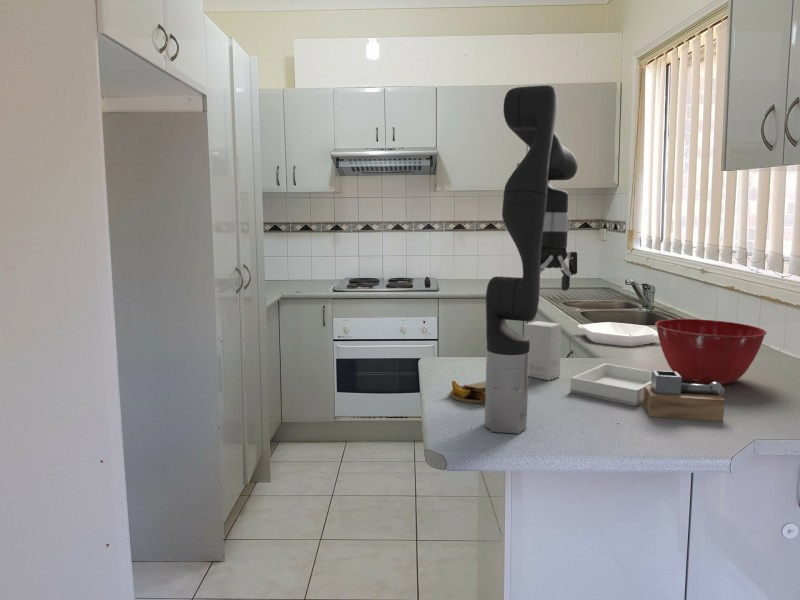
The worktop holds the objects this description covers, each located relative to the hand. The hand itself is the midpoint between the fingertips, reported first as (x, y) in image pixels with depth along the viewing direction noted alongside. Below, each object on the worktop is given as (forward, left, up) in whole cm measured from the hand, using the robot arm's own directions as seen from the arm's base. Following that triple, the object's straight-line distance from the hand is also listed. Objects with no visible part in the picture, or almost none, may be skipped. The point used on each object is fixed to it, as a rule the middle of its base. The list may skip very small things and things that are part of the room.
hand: (550, 290), depth 177 cm
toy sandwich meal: (-16, +18, -27) cm, 36 cm away
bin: (-1, -19, -26) cm, 32 cm away
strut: (-18, -32, -21) cm, 43 cm away
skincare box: (+9, +1, -26) cm, 28 cm away
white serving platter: (+70, -28, -27) cm, 80 cm away
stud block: (-18, -31, -26) cm, 44 cm away
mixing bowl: (+17, -45, -26) cm, 55 cm away
